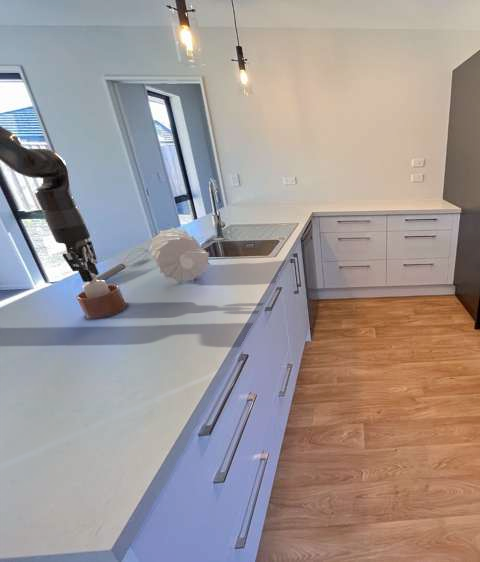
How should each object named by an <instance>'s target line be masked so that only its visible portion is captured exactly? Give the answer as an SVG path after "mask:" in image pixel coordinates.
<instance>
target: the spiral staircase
mask: <svg viewBox="0 0 480 562" xmlns="http://www.w3.org/2000/svg"><path fill="white" fill-rule="evenodd" d="M150 240H151V241H152V243H151V246H150V248H149V249H148V251H149V252H151V257H152V258H153V260H154V262H156V267H157V268H158V269H159V272H160V273H161V274H163V275H164V276H165V278H167V279H168V278H171V279H173V280H175V281H177V282H179V283H181V282H182V281H194V280H195V279H196V278H198V277H200V276H202V275H205V271H206V270H207V268H208V267H209V266H210V265H211V262H209V259H210V252H208V251H206V249H202V244H200V243H199V241H197V239H195V238H194V236H193V235H190V234H189V233H188V232H187V231H186V230H185V229H182V230H180V229H177V228H175V227H171V228H170V229H167V230H166V229H165V230H159V233H158V234H157V235H156V236H154V237H152V238H151V239H150Z"/></svg>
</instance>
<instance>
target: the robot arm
mask: <svg viewBox="0 0 480 562" xmlns="http://www.w3.org/2000/svg"><path fill="white" fill-rule="evenodd" d="M0 161H1V162H2V163H3V164H4V165H5V166H7V167H8V168H10V169H11V170H13V172H15V173H17V174H19V175H22V176H25V177H27V178H31V179H40V181H41V185H40V186H39V187H37V188H36V189H35V190H34V195H35V196H34V197H35V198H36V200H37V203H38V205H39V206H40V209H41V211H42V213H43V218H44V220H45V222H46V224H47V226H48V228H49V231H50V232H51V235H52V236H53V239H54V241H55V242H56V243H57V244H63V245H65V250H66V252H65V253H62V258H63V259H64V260H65V262H66V263H67V265H68V266H69V268H70V269H71V270H72V272H78V274H79V276H80V278H81V280H82V282H83V283H88V282H90V281H92V280H93V278H92V276H91V273H93V274H95V275H96V277H98V276H99V275H100V273H99V270H98V268H97V266H96V260H97V255H96V252H95V248H94V245H93V242H92V241H91V240H88V239H90V238H91V234H90V232H89V229H88V227H87V225H86V223H85V221H84V220H85V219H84V217H83V215H82V214H81V212H80V210H79V209H78V207H77V205H76V201H75V200H74V198H73V195H72V193H71V190H70V188H71V186H70V178H69V172H68V167H67V164H66V162H65V160H63V157H61V156H60V155H59V153H57V152H55V151H54V150H51V149H47V148H27V147H25V146H23V145H22V143H21V139H20V138H19V137H18V136H17V135H16V134H15V133H13V132H12V131H10V130H8V129H6V128H5V127H3V126H1V125H0ZM86 240H88V241H86ZM90 272H91V273H90Z"/></svg>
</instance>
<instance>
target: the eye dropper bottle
mask: <svg viewBox="0 0 480 562" xmlns="http://www.w3.org/2000/svg"><path fill="white" fill-rule="evenodd" d="M90 273H91V272H90ZM91 276H92V278H93V280H92V281H90V282H85V283H84V284H83V285H82V288H83V291H85V294H86V296H87V298H94V297H98V296H102V295H105V294H108V293H110V290H109V288H108V286H107V285H108V284H107V282H106V280H105V281H104V280H97V277H98V276H96V275H95V274H93V273H91Z"/></svg>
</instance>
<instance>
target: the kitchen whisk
mask: <svg viewBox="0 0 480 562" xmlns="http://www.w3.org/2000/svg"><path fill="white" fill-rule="evenodd" d="M138 249H139V250H138ZM143 251H144V252H143ZM138 252H143V253H141V254H140V255H138V258H140V257H142V256H143V255H145V254H147V255H148V257H145V258H143V259H141V260H140V261H137V262H134V263H132V264H129V263H131V262H133V261H135V260H136V257H134V258H132V256H134V255H135V254H136V253H138ZM150 257H152V251H149V250H148V248H147V247H145V249H144V247H141V248H140V247H138V248H136V249H134V250H132V251H130V253H129V254H128V255H127V256H126V257H125V258H124V260H123V261H122V262H120V263H119V264H117V265H115V266H113V267H111V268H110V269H108V270H106V271H105V272H103V273H101V274H98V275H97V276H96V277H97V280H104V281H105V282H106V281H107V280H109V279H110V278H112V277H114V276H115V275H117V274H119V273H120V272H122V271H124V270H125V269H126V268H128V267H129V268H131V267H134V266H138V265H141V264H142V261H143V262H144V261H145V262H146V261H148V260H149V259H150ZM129 258H132V259H131V260H129V261H128V262H126V261H127V260H128V259H129ZM128 264H129V265H128Z"/></svg>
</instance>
